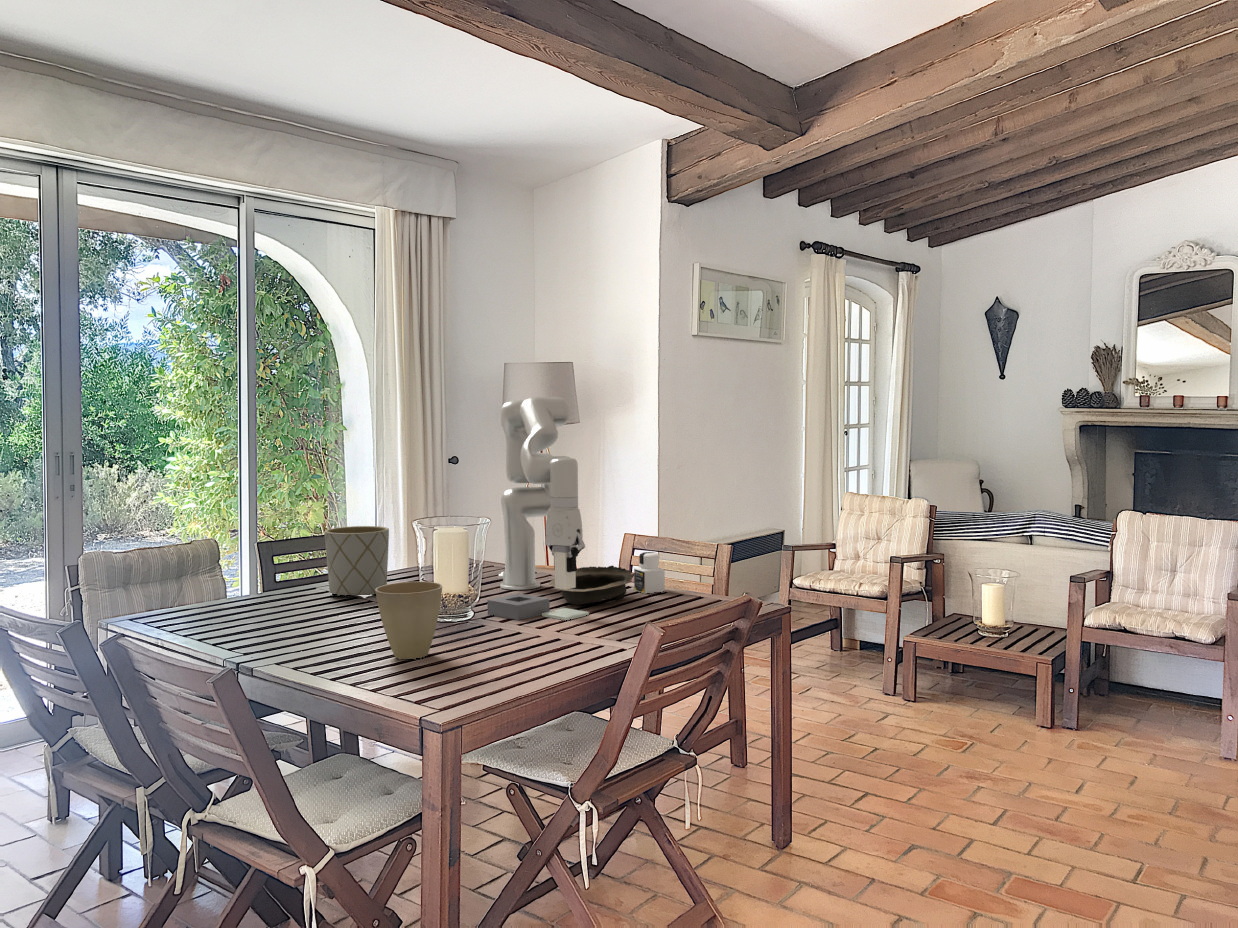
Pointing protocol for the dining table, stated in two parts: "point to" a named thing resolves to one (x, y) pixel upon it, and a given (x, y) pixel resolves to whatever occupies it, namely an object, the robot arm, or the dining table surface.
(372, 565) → the planter
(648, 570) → the medicine bottle
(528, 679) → the dining table surface
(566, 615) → the coaster
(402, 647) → the plant pot
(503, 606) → the grey square ring
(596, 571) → the stone bowl
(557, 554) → the plug
